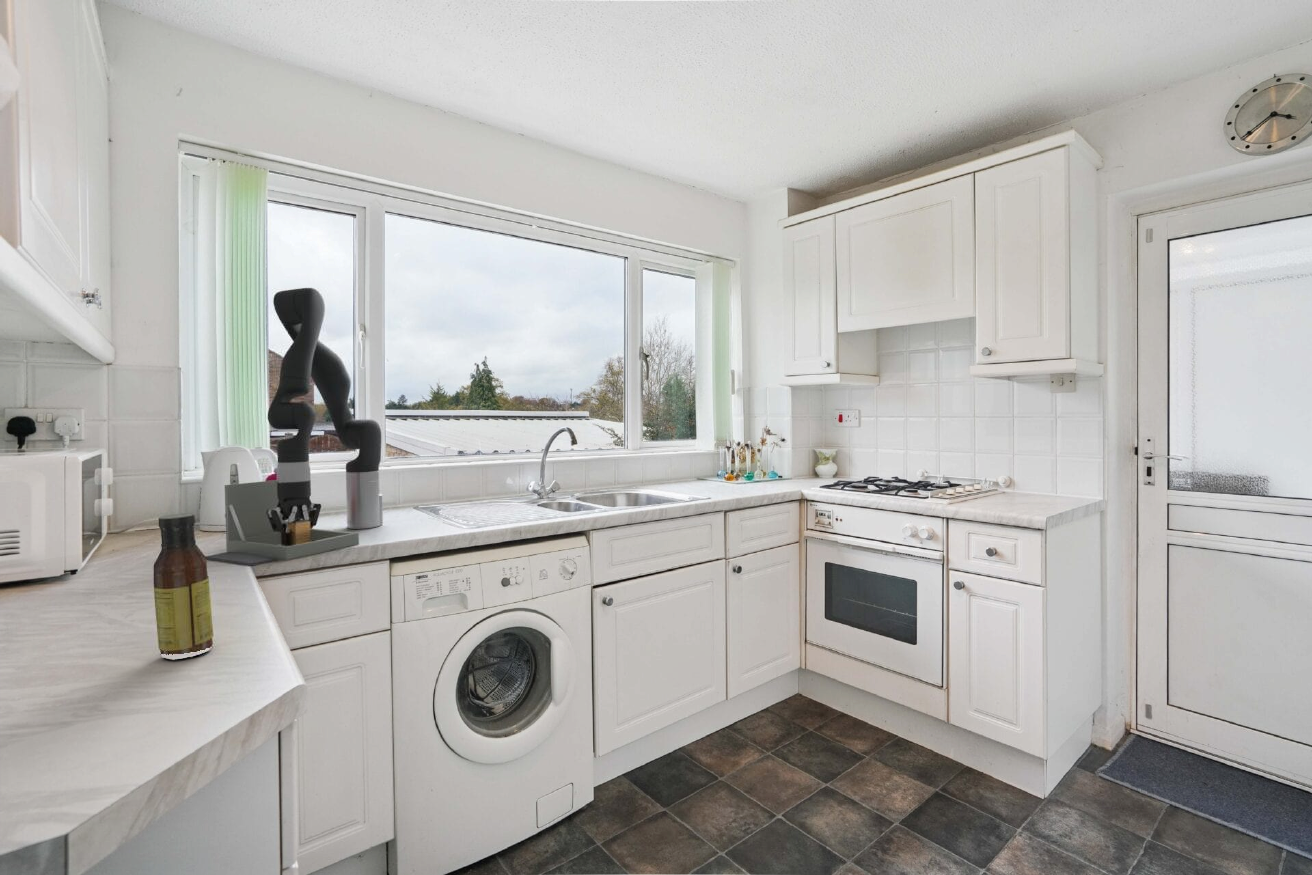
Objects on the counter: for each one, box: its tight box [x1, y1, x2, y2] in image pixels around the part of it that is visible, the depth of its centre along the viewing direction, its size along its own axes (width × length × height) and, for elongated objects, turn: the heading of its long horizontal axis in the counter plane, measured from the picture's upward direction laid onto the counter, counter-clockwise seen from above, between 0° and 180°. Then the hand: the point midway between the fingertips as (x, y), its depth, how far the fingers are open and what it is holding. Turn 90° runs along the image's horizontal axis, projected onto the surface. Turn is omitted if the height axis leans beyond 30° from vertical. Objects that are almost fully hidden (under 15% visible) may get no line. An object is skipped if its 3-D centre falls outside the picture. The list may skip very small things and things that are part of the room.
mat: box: [205, 551, 278, 567], centre depth 148 cm, size 6×18×1 cm, turn 65°
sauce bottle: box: [152, 512, 214, 655], centre depth 88 cm, size 7×6×20 cm
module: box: [280, 519, 312, 546], centre depth 161 cm, size 4×6×7 cm, turn 65°
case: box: [224, 480, 360, 561], centre depth 161 cm, size 20×23×17 cm
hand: (295, 545), depth 161 cm, fingers closed on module, 4 cm apart
